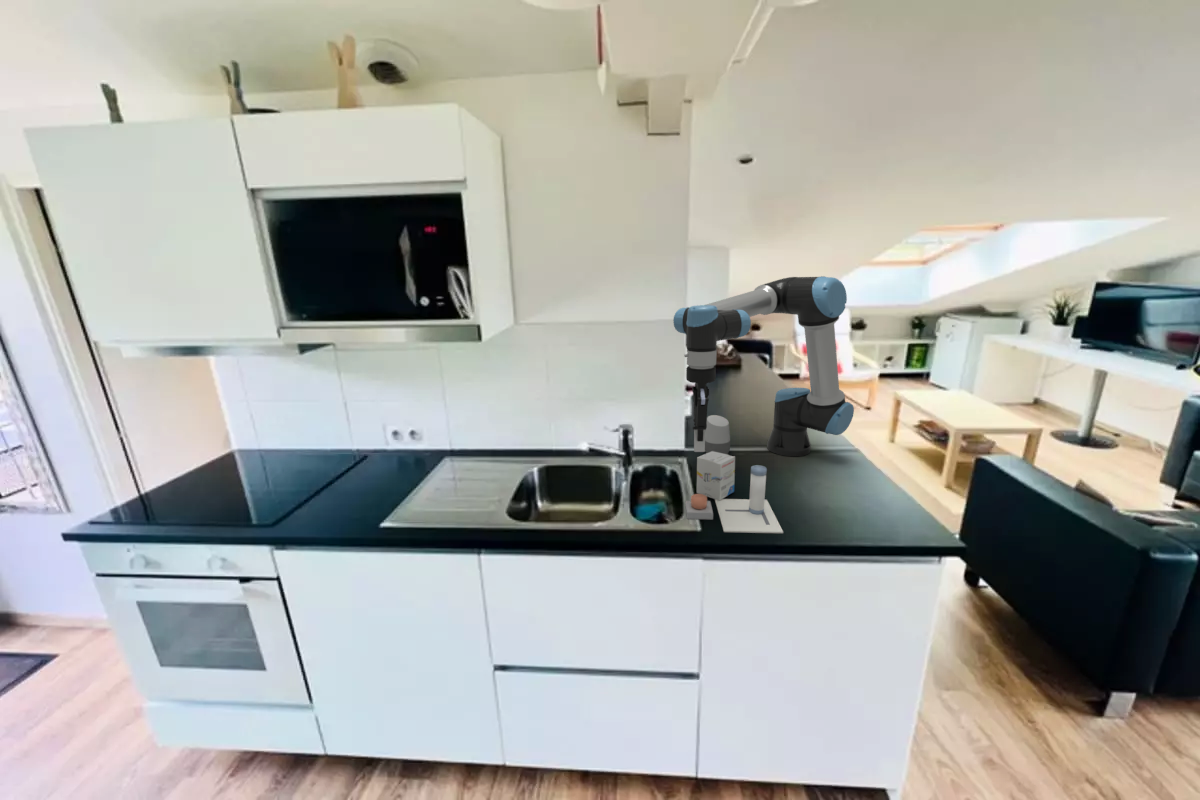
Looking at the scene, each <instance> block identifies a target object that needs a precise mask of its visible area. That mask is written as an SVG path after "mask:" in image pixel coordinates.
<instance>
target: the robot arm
mask: <svg viewBox="0 0 1200 800" xmlns="http://www.w3.org/2000/svg"><path fill="white" fill-rule="evenodd" d="M847 297H848V296H847V291H846V287H845V285H844V284H843V282H842V281H841V280H839V279H838V278H836V277H834V276H833V277H832V276H831V277H830V276H824V275H823V276H822V275H821V276H799V277H798V276H790V277H784V278H779V279H777V280H774V281H770V282H767V283H764V284H760V285H758V286H757V287H755V288H754V289H753V290H752V291H748V292H744V293H741V294H737V295H734V296H731V297H727V298H724V299H721V300H718V301H717V300H716V301H713V302H711V303H710V302H709V303H707V304H703V305H701V304H700V305H698V304H697V305H691V306H690V307H688V306H687V307H682V308H679V309H678V310H677V311H676V312H675V313H674V316H673V320H672V321H673V327H674V329H675V330H676V331H677V332H678V333H681V334H684V335H686V353H684V354H683V355H684V356H683V357H684V358H686V365H687V366H686V368H685V369H686V373H685V377H686V381H687V382H689V383H692V384H694V386H692V389H691V390H692V391H691V392H692V397H693V398H692V401H693V422H694V423H693V424H694V425H693V426H692V430H693V431H694V432H693V434H694V435H693V437H694V438H693V439H694V440H693V452H695V453H706V452H705V431H706V428H707V424H706V423H707V417H708V408H709V407H708V406H709V405H708V404H709V400H710V399H709V396H710V388H709V387H708V385H707V384H710V383H714V382H715V381H716V378H717V377H716V376H717V375H716V372H717V371H716V370H717V369H716V368H717V367H716V365H717V351H718V350H717V347H718V346H717V343H718V341H719V342H720V341H726V340H733V339H735V340H736V339H738V338H741V337H744V336H746V335H747V334H748V333H749V332H750V330H751V324H752V323H751V322H752V320H751V317H754V316H757V315H758V316H759V315H762V316H767V315H770V314H784V315H785V314H786V315H796V316H797V322H798V325H800V326H801V327H802V328H803V329H804V336H805V337H804V338H805V347H806V356H807V363H808V364H807V365H808V375H809V383H810V389H809V388H807V387H788V388H782V389H778V391H776V393H775V396H774V397H775V398H774V408H773V409H774V410H773V427H772V430H771V433H770V434H769V437H768V440H767V443H766V449H767V450H768V451H769V452H771V453H774V454H776V455H780V456H785V457H804V456H806V455H809V454H810V453H811V449H812V448H811V446H812V444H811V440H810V438H809V433H808V429H811V430H814V431H818V432H822V433H825V434H826V435H833V436H838V435H839V436H840V435H841V434H843V433H845V431H847V429H848V428H849V426H850V424H851V423H852V420H853V417H854V415H855V414H854V412H855V408H854V405H853V404H852V403H851V402H849V401H846V397H845V396H846V395H845V394H846V393H844V391H843V390H841V389H840V385H839V384H840V382H839V371H838V359H837V357H838V356H837V343H836V332H835V330H836V329H835V324H836V322H837V321H839V319H840V316H841V315H842V314H843V313H844V312H845V309H846V304H847V300H848V298H847Z"/></svg>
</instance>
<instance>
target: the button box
mask: <svg viewBox="0 0 1200 800" xmlns="http://www.w3.org/2000/svg"><path fill="white" fill-rule="evenodd" d="M684 507H685V514H686V519H687V520H714V511H713V507H712V502H711V500H707V507H706V508H704V509H696V508H693V507H692V506H691V500H685V504H684Z"/></svg>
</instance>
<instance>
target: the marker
mask: <svg viewBox="0 0 1200 800" xmlns="http://www.w3.org/2000/svg"><path fill="white" fill-rule="evenodd" d="M767 471H768V469H767V467H766V466H764V465H759V464H756V465H752V466H750V483H749V485H750V486H749V512H751V513H753V514H763V513H764V501H765V500H766V499H765V498H766V497H765V496H766V486H767V485H766V484H767V483H766V482H767Z"/></svg>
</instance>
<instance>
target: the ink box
mask: <svg viewBox="0 0 1200 800" xmlns="http://www.w3.org/2000/svg"><path fill="white" fill-rule="evenodd" d="M735 470H736V456H735V455H734V456H732V455H730V454H723V453H718V452H714V451H711V452H709V453H706V452H705V453H704V454H702V455H700V456H697V457H696V494H703V495H705V496H707V498H710V499H713V500H715V499H717V500H722V499H726V497H728V496H729V495H731V494H733V493H735V476H736V473H735V472H736V471H735Z"/></svg>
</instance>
